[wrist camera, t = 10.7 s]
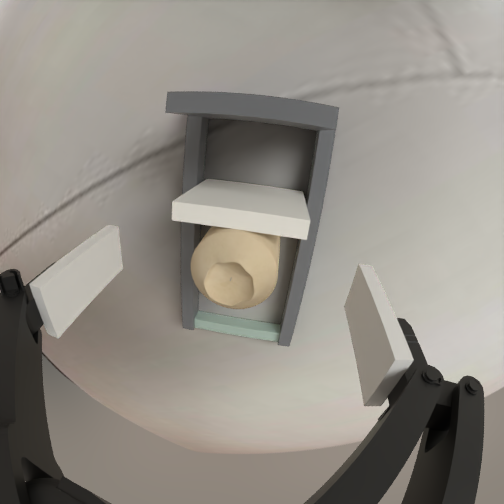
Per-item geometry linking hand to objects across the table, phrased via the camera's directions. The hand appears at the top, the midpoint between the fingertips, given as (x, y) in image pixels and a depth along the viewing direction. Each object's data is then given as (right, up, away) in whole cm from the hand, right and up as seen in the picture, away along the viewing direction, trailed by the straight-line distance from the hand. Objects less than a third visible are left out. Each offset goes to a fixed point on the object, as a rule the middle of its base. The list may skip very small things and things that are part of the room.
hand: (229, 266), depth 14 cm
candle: (+1, +3, +11) cm, 11 cm away
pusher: (+1, +6, +9) cm, 11 cm away
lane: (+1, +2, +11) cm, 11 cm away
